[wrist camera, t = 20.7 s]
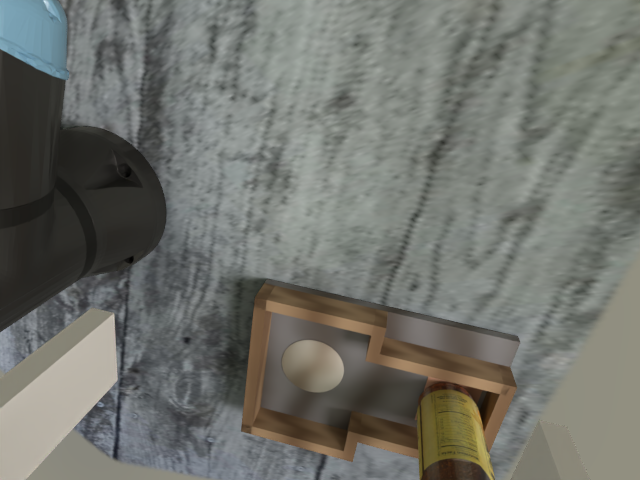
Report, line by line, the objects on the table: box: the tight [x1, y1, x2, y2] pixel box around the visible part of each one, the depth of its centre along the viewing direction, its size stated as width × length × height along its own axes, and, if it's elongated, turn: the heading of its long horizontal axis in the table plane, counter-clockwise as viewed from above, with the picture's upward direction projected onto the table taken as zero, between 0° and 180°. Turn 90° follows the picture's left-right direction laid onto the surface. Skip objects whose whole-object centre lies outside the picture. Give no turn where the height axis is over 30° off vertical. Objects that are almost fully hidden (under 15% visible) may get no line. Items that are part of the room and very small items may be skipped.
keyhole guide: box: [241, 279, 520, 462], centre depth 46 cm, size 26×18×4 cm
